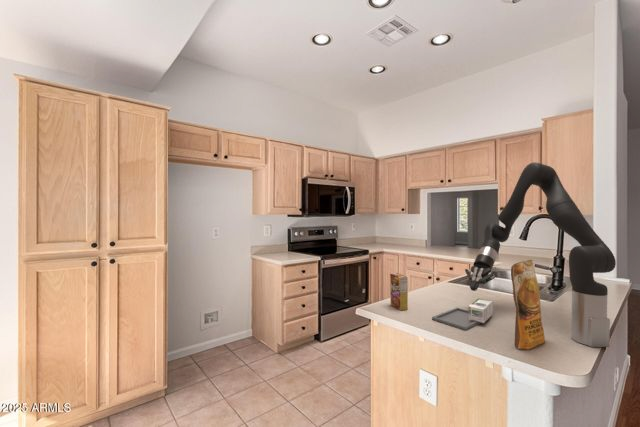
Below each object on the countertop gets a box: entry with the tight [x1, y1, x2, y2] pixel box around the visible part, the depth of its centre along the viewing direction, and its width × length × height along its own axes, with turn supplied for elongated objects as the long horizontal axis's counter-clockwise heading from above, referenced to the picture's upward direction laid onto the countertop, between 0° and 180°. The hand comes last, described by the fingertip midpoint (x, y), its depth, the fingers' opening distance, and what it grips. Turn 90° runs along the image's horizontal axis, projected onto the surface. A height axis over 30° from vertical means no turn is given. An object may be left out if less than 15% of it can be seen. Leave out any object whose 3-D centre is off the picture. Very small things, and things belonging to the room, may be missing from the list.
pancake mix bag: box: [510, 259, 546, 351], centre depth 103 cm, size 7×19×28 cm, turn 121°
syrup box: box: [468, 297, 494, 324], centre depth 125 cm, size 6×6×14 cm
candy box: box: [389, 272, 409, 311], centre depth 141 cm, size 9×4×15 cm, turn 17°
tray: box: [431, 307, 490, 331], centre depth 126 cm, size 20×14×1 cm
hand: (472, 289), depth 131 cm, fingers closed
